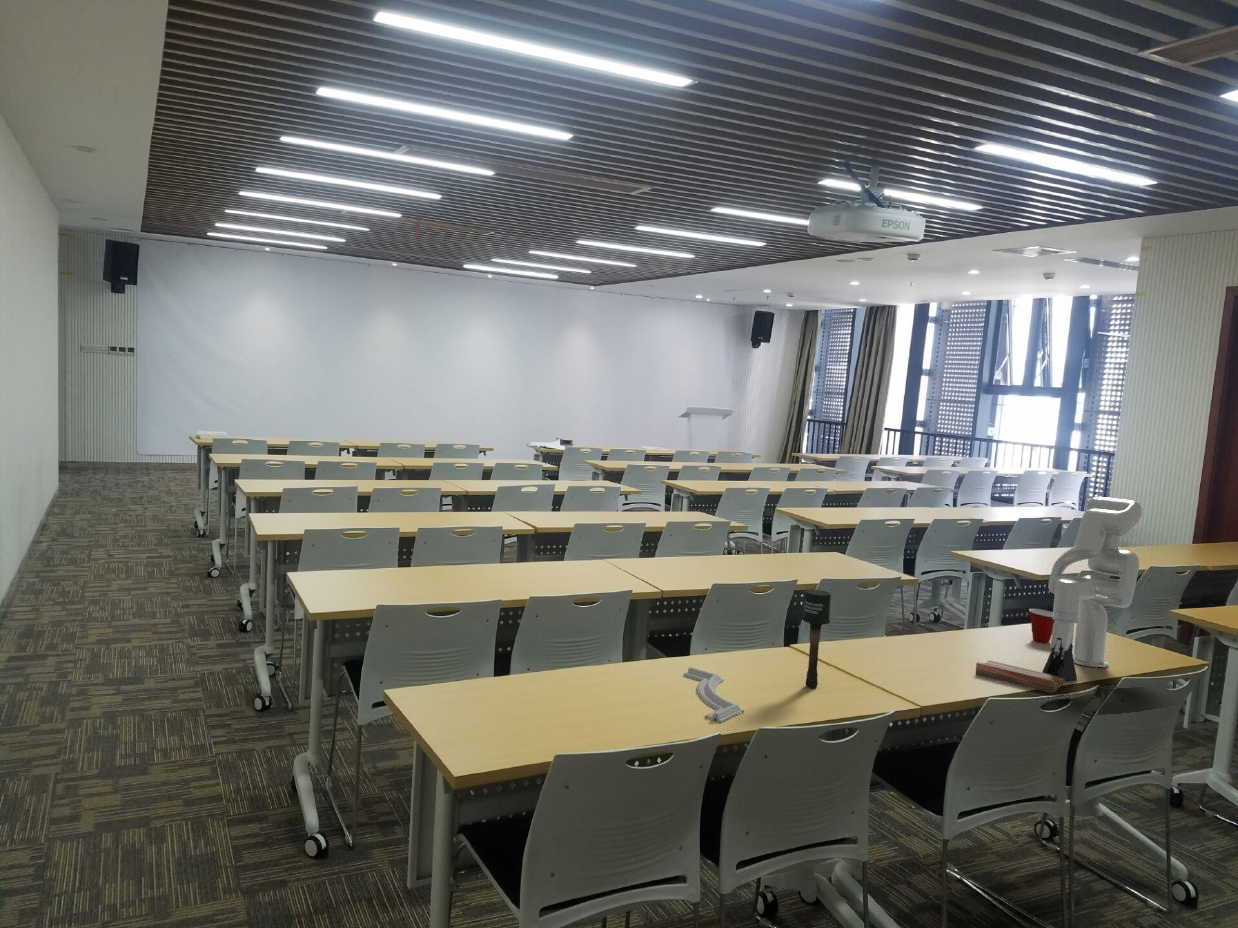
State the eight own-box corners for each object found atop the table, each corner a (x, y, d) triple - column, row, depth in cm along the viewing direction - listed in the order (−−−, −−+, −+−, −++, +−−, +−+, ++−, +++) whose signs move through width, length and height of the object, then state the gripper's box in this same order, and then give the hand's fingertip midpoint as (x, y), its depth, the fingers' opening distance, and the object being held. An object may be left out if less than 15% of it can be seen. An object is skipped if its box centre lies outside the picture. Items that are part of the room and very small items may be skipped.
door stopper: (1077, 680, 290) (1080, 645, 289) (1062, 681, 288) (1066, 646, 287) (1056, 671, 299) (1059, 637, 298) (1042, 672, 297) (1045, 638, 296)
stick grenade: (792, 683, 272) (798, 589, 270) (815, 681, 275) (822, 588, 273) (807, 692, 264) (813, 596, 262) (830, 690, 267) (837, 595, 265)
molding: (680, 674, 278) (681, 665, 277) (718, 674, 279) (718, 665, 278) (707, 725, 236) (707, 714, 235) (751, 725, 237) (751, 714, 237)
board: (988, 665, 302) (989, 654, 301) (1063, 683, 286) (1065, 671, 286) (975, 674, 291) (976, 662, 291) (1052, 693, 275) (1053, 680, 275)
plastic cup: (1063, 645, 333) (1066, 615, 332) (1037, 645, 332) (1040, 614, 331) (1045, 637, 344) (1048, 608, 343) (1020, 637, 342) (1023, 607, 341)
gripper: (1059, 609, 301) (1054, 660, 302) (1046, 617, 288) (1041, 670, 289) (1083, 614, 296) (1078, 665, 297) (1070, 622, 283) (1065, 676, 284)
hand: (1060, 667), depth 293 cm, fingers closed on door stopper, 5 cm apart
